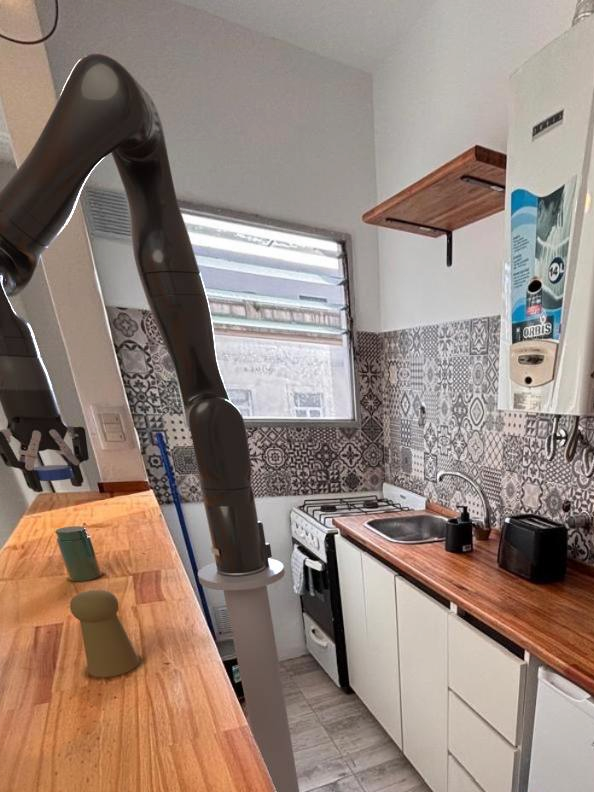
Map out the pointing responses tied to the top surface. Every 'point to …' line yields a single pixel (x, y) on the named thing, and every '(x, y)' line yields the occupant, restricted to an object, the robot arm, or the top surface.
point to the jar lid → (54, 472)
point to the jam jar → (78, 553)
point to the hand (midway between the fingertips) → (58, 488)
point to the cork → (103, 634)
